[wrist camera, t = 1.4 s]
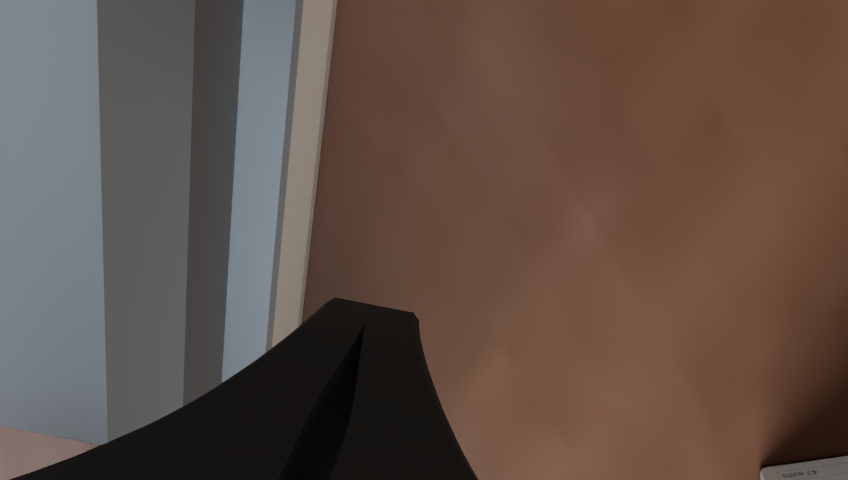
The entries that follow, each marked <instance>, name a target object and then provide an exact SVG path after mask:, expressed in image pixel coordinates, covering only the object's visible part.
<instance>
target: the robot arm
mask: <svg viewBox="0 0 848 480" xmlns="http://www.w3.org/2000/svg"><path fill="white" fill-rule="evenodd" d="M10 480H478V479H477V477H476V475H475V473H474V472H473V470H472V468H471V467H470V465H469V463H468V461H467V459H466V457H465V455H464V454H463V452H462V450H461V448H460V446H459V444H458V442H457V440H456V438H455V435H454V433H453V431H452V429H451V427H450V424H449V422H448V420H447V418H446V416H445V413H444V411H443V408H442V406H441V404H440V401H439V398H438V396H437V393H436V390H435V387H434V385H433V382H432V379H431V376H430V373H429V370H428V367H427V364H426V360H425V356H424V352H423V348H422V344H421V339H420V333H419V320H418V319H417V317H416V316H415V314H414V313H412V312H407V311H402V310H397V309H392V308H386V307H381V306H376V305H371V304H365V303H360V302H355V301H350V300H344V299H339V298H333V299H331V300H330V301H328V302H327V303H325V304H324V305H323V306H322V307H321V308H320V309H319V310H318V311H316V312H315V313H314V314H313V315H312V316H311V317H310V318H308V319H307V320H306V321H305V322H304V323H303V324H301V325H300V326H299V327H298V328H296V329H295V330H294V331H293V332H292V333H290V334H289V335H288V336H287V337H285V338H284V339H283V340H282V341H280V342H279V343H278V344H276V345H275V346H274V347H272V348H271V349H270V350H268V351H267V352H266V353H265V354H263V355H262V356H261V357H259V358H258V359H257V360H255V361H254V362H252V363H251V364H250V365H248V366H247V367H245V368H244V369H242V370H241V371H239V372H238V373H236V374H235V375H233V376H232V377H230V378H229V379H227V380H226V381H224V382H223V383H221V384H220V385H218V386H217V387H215V388H214V389H212V390H210V391H209V392H207V393H205V394H204V395H202V396H200V397H199V398H197V399H195V400H194V401H192V402H190V403H188V404H187V405H185V406H183V407H181V408H179V409H177V410H176V411H174V412H172V413H170V414H168V415H166V416H164V417H162V418H160V419H158V420H156V421H154V422H152V423H150V424H148V425H146V426H144V427H142V428H139V429H137V430H135V431H132V432H130V433H128V434H125V435H123V436H121V437H119V438H116V439H114V440H112V441H109V442H107V443H105V444H103V445H100V446H98V447H96V448H93V449H91V450H89V451H86V452H84V453H82V454H79V455H77V456H74V457H72V458H69V459H66V460H64V461H61V462H58V463H56V464H53V465H50V466H47V467H45V468H42V469H39V470H37V471H34V472H31V473H28V474H25V475H22V476H19V477H16V478H13V479H10Z"/></svg>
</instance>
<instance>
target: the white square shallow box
mask: <svg viewBox="0 0 848 480" xmlns="http://www.w3.org/2000/svg"><path fill="white" fill-rule="evenodd" d="M336 9H337V0H304V1H303V12H302V23H301V34H300V45H299V56H298V67H297V78H296V89H295V99H294V110H293V121H292V132H291V143H290V154H289V165H288V176H287V186H286V197H285V208H284V219H283V230H282V241H281V252H280V263H279V273H278V284H277V295H276V306H275V317H274V328H273V339H272V347H274V346H275V345H276V344H278V343H279V342H280V341H282V340H283V339H284V338H285V337H287V336H288V335H289V334H290V333H292V332H293V331H294V330H295V329H296V328H298V327H299V326H300V325H301V324H302V315H303V306H304V297H305V288H306V279H307V270H308V261H309V252H310V243H311V234H312V225H313V216H314V207H315V198H316V189H317V180H318V171H319V162H320V153H321V144H322V135H323V126H324V117H325V108H326V99H327V90H328V81H329V72H330V63H331V54H332V45H333V36H334V27H335V18H336Z"/></svg>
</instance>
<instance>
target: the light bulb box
mask: <svg viewBox="0 0 848 480" xmlns="http://www.w3.org/2000/svg"><path fill="white" fill-rule="evenodd" d="M760 480H848V456H843V457H836V458H829V459H822V460H815V461H808V462H801V463H794V464H787V465H779V466H771V467H765V468H762V469H761V471H760Z"/></svg>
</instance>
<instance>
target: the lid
mask: <svg viewBox="0 0 848 480" xmlns="http://www.w3.org/2000/svg"><path fill="white" fill-rule="evenodd" d="M303 1H304V0H0V426H6V427H11V428H16V429H21V430H26V431H31V432H37V433H42V434H47V435H52V436H57V437H62V438H68V439H73V440H78V441H83V442H88V443H94V444H99V445H103V444H105V443H107V442H109V441H112V440H114V439H116V438H119V437H121V436H123V435H125V434H128V433H130V432H132V431H135V430H137V429H139V428H142V427H144V426H146V425H148V424H150V423H152V422H154V421H156V420H158V419H160V418H162V417H164V416H166V415H168V414H170V413H172V412H174V411H176V410H177V409H179V408H181V407H183V406H185V405H187V404H188V403H190V402H192V401H194V400H195V399H197V398H199V397H200V396H202V395H204V394H205V393H207V392H209V391H210V390H212V389H214V388H215V387H217V386H218V385H220V384H221V383H223V382H224V381H226V380H227V379H229V378H230V377H232V376H233V375H235V374H236V373H238V372H239V371H241V370H242V369H244V368H245V367H247V366H248V365H250V364H251V363H252V362H254V361H255V360H257V359H258V358H259V357H261V356H262V355H263V354H265V353H266V352H267V351H268V350H270V349H271V348H272V339H273V328H274V317H275V306H276V295H277V284H278V273H279V263H280V252H281V241H282V230H283V219H284V208H285V197H286V186H287V176H288V165H289V154H290V143H291V132H292V121H293V110H294V99H295V89H296V78H297V67H298V56H299V45H300V34H301V23H302V12H303Z"/></svg>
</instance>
